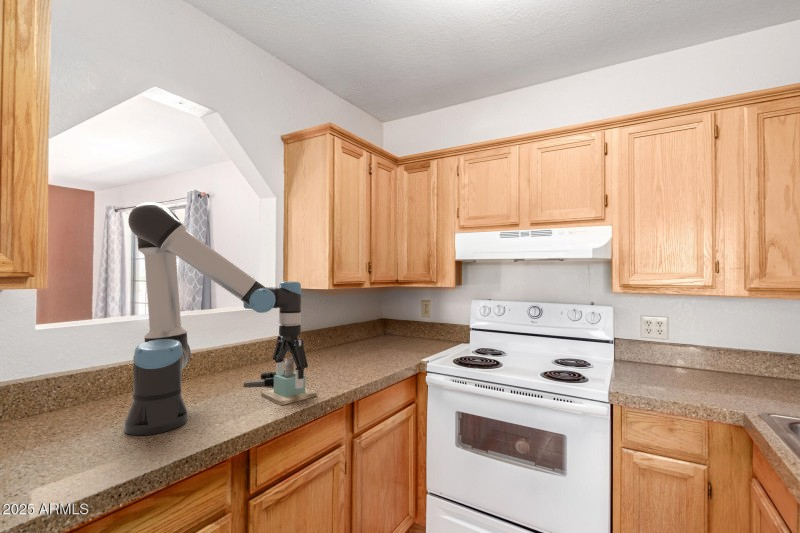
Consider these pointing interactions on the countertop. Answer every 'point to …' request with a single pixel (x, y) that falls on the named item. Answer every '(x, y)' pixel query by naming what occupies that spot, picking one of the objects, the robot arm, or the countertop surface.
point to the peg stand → (285, 400)
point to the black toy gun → (267, 382)
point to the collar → (287, 385)
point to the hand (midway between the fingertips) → (289, 384)
